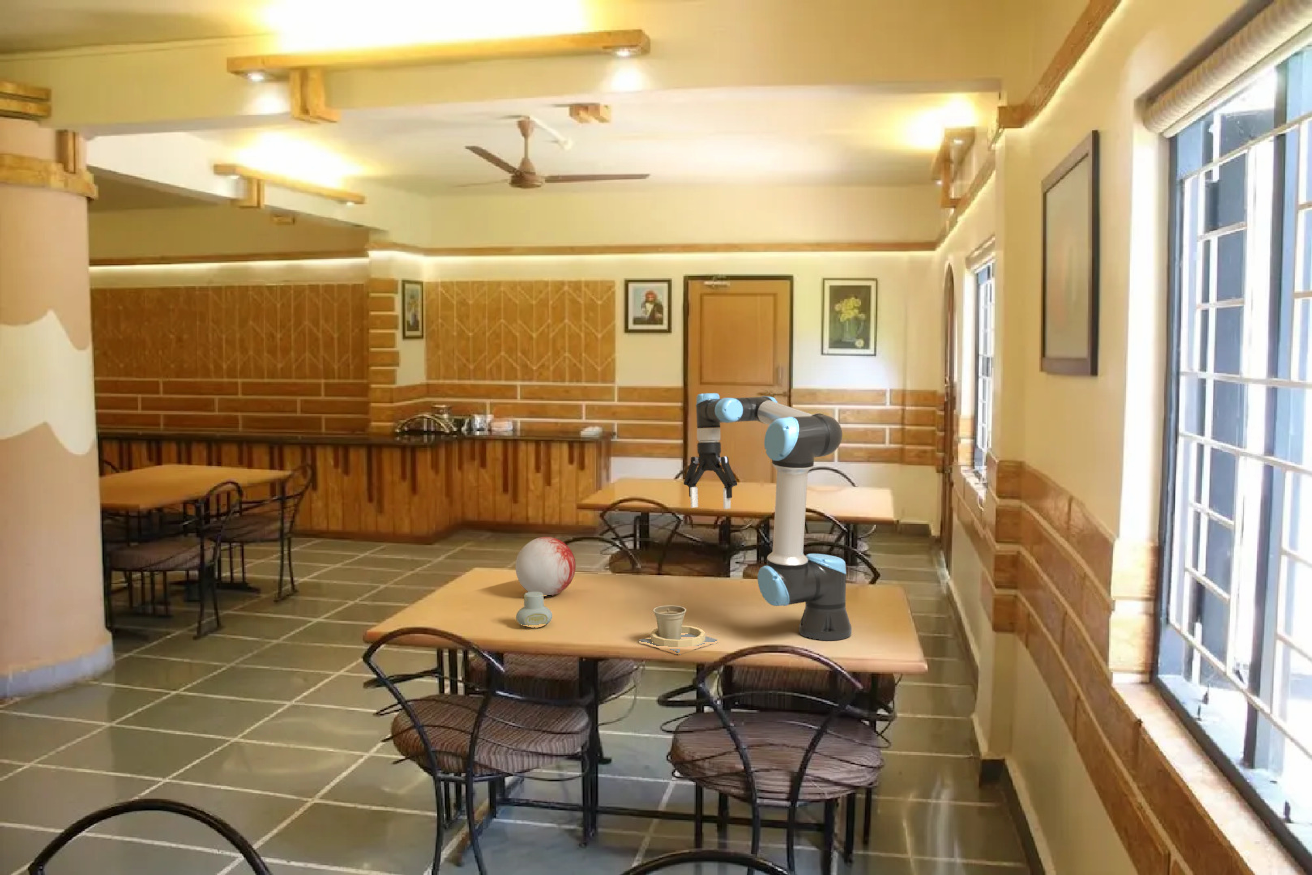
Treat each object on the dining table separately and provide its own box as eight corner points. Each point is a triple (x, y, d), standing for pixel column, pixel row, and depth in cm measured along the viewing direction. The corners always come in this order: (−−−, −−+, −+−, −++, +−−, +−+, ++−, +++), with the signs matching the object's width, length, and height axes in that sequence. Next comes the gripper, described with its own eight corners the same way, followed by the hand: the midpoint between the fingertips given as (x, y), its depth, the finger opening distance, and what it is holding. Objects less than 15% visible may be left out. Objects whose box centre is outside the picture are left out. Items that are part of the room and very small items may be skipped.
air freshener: (518, 631, 310) (517, 598, 309) (514, 623, 318) (513, 591, 317) (554, 627, 313) (553, 595, 312) (549, 620, 321) (549, 589, 320)
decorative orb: (547, 585, 367) (545, 529, 365) (588, 593, 354) (587, 536, 352) (502, 597, 351) (501, 539, 349) (544, 606, 338) (543, 546, 336)
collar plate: (717, 642, 296) (717, 632, 296) (677, 655, 285) (677, 644, 285) (678, 631, 307) (678, 621, 307) (638, 643, 297) (638, 632, 296)
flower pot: (685, 644, 292) (685, 614, 291) (652, 643, 292) (652, 613, 291) (686, 634, 301) (686, 605, 300) (654, 634, 302) (654, 605, 301)
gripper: (747, 440, 326) (748, 508, 326) (687, 441, 343) (688, 505, 343) (732, 441, 321) (733, 509, 321) (672, 442, 338) (673, 507, 338)
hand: (710, 508), depth 332 cm, fingers open, 13 cm apart
